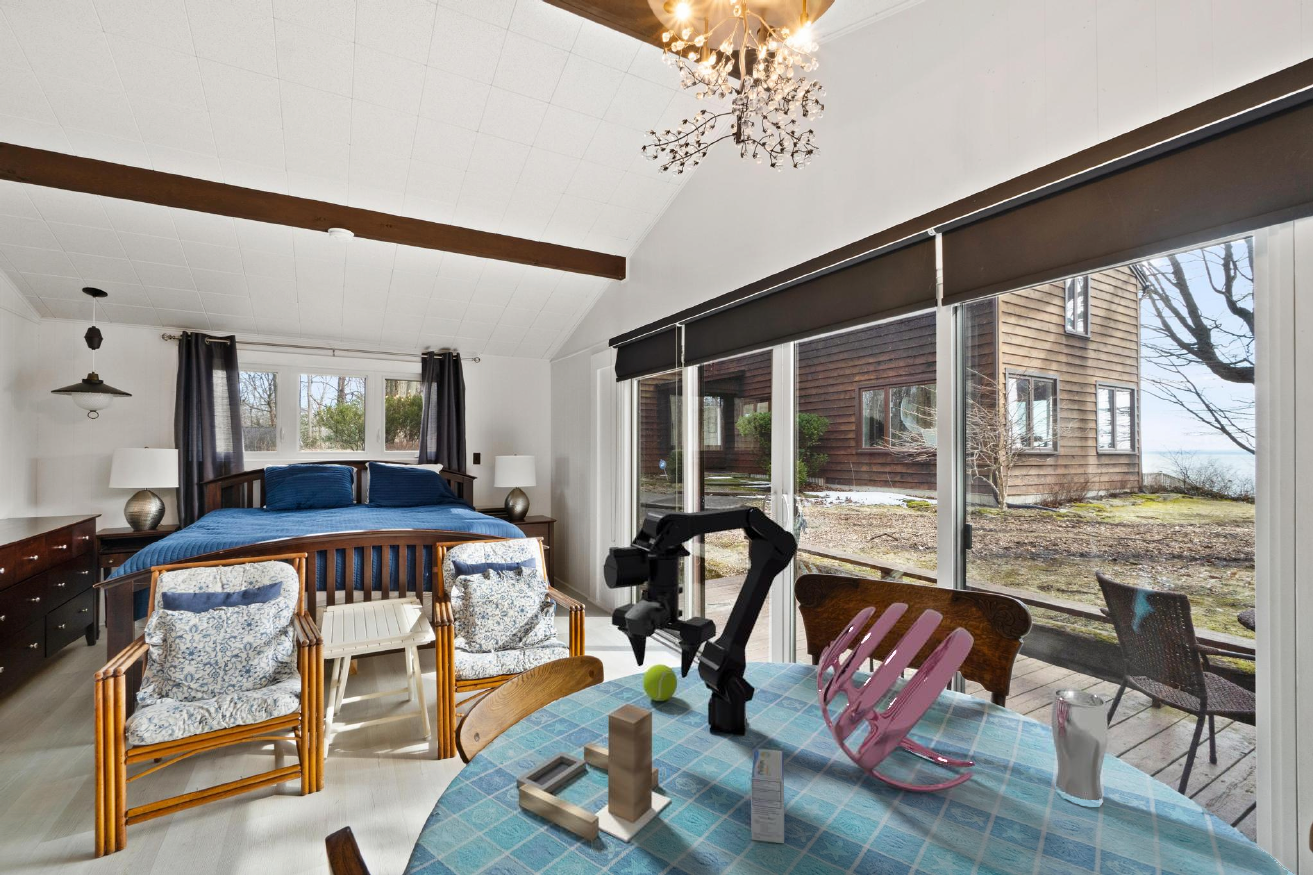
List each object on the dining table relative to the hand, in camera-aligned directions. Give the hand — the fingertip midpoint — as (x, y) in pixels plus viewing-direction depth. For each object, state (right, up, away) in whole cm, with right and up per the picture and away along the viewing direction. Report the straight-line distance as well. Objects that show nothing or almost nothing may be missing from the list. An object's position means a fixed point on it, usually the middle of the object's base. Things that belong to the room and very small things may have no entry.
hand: (661, 671), depth 105 cm
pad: (-5, -13, -19) cm, 23 cm away
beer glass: (+63, -13, -15) cm, 66 cm away
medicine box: (+15, -13, -21) cm, 29 cm away
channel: (-11, -13, -14) cm, 22 cm away
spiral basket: (+38, -13, -6) cm, 41 cm away
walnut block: (-5, -13, -19) cm, 23 cm away
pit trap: (-18, -13, -10) cm, 24 cm away
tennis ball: (0, -13, +19) cm, 23 cm away
